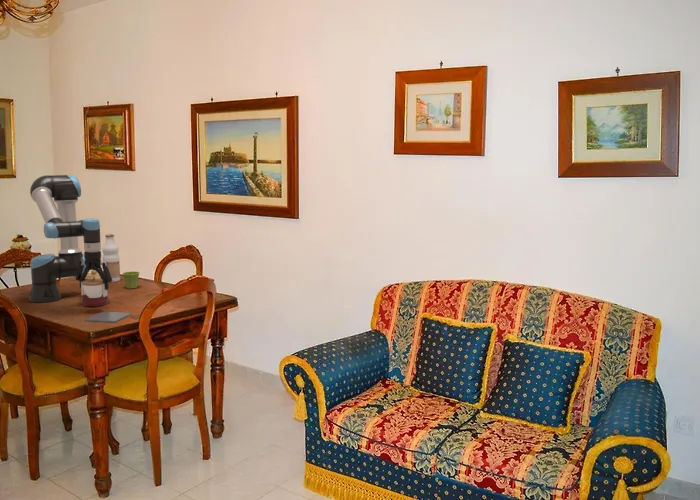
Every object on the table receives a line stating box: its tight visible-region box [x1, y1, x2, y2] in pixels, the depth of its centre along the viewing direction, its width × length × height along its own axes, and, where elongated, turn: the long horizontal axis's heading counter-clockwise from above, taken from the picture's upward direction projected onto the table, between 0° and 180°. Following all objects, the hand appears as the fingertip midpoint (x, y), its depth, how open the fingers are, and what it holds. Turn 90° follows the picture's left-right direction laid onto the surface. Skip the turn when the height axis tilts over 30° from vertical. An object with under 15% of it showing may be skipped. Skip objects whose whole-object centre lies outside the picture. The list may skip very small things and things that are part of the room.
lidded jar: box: [82, 278, 104, 298], centre depth 309 cm, size 11×11×9 cm
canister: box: [81, 270, 110, 307], centre depth 325 cm, size 13×13×18 cm
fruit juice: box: [101, 233, 121, 283], centre depth 382 cm, size 9×9×28 cm
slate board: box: [84, 310, 133, 324], centre depth 299 cm, size 15×15×1 cm
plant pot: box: [122, 271, 141, 290], centre depth 364 cm, size 9×9×9 cm
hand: (94, 295), depth 310 cm, fingers closed on lidded jar, 11 cm apart
